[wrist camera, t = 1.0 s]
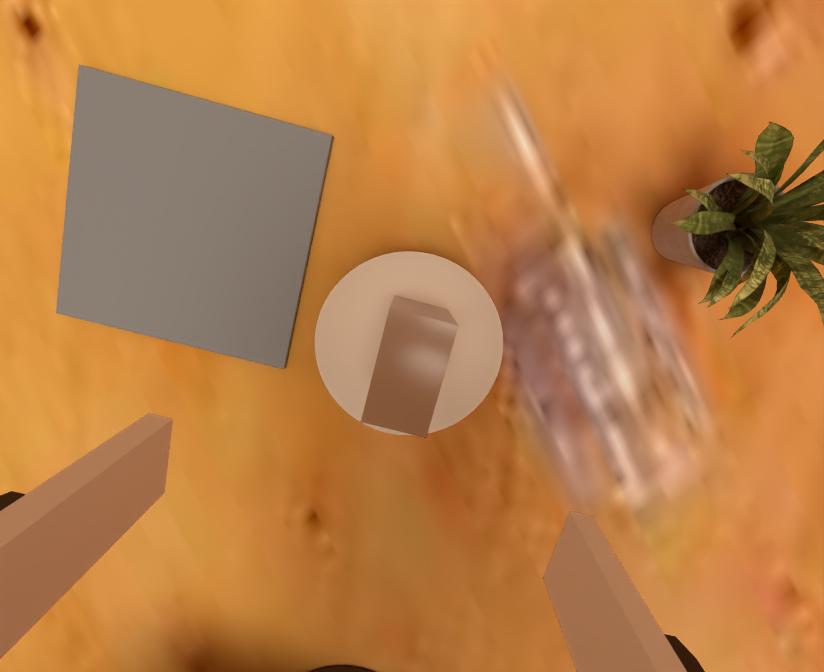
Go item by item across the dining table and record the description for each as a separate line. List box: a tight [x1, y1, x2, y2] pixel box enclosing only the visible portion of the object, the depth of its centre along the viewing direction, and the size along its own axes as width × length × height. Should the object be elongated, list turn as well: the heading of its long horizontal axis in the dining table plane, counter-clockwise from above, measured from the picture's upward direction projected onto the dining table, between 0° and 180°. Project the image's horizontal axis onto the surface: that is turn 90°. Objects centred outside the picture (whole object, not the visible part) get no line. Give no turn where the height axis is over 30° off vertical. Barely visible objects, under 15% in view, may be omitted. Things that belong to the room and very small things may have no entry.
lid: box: [315, 251, 503, 438], centre depth 28 cm, size 14×14×8 cm
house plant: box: [651, 122, 824, 337], centre depth 27 cm, size 14×14×16 cm
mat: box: [56, 65, 333, 369], centre depth 34 cm, size 20×20×1 cm
